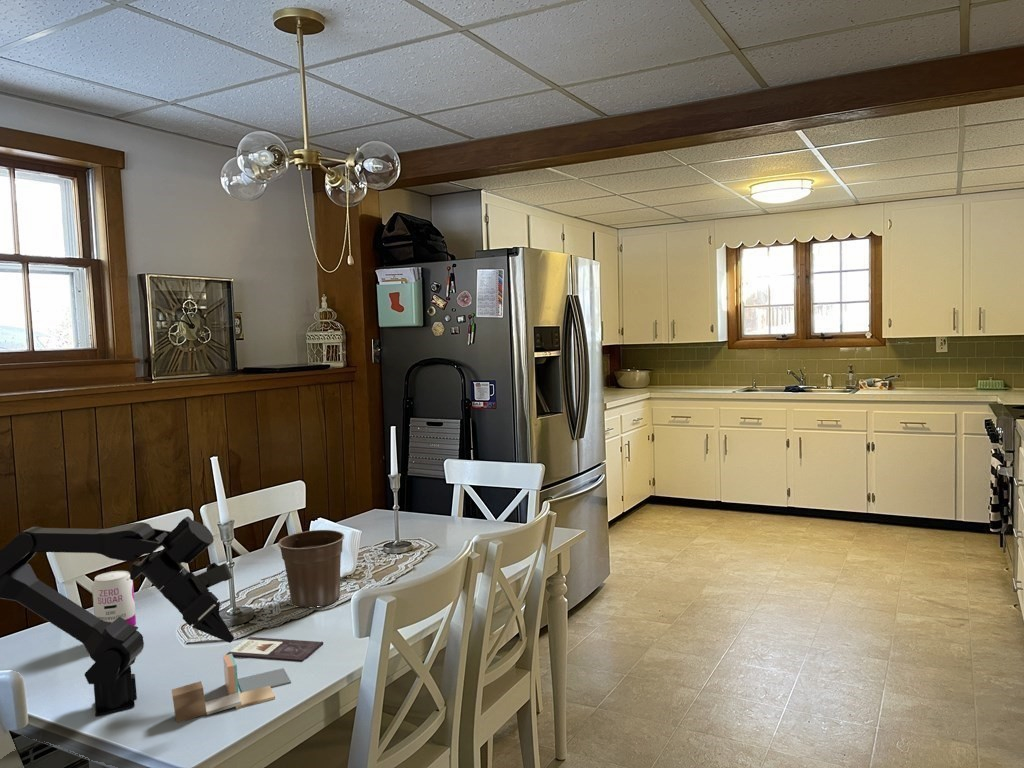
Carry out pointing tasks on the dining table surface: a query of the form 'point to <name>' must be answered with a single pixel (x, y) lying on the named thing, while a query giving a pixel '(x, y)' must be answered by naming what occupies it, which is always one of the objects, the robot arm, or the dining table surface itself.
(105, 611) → the supplement can
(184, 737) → the dining table surface
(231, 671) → the tile
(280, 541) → the plant pot
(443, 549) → the dining table surface
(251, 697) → the rest
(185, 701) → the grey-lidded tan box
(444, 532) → the dining table surface
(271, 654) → the chocolate bar
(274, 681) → the plate
